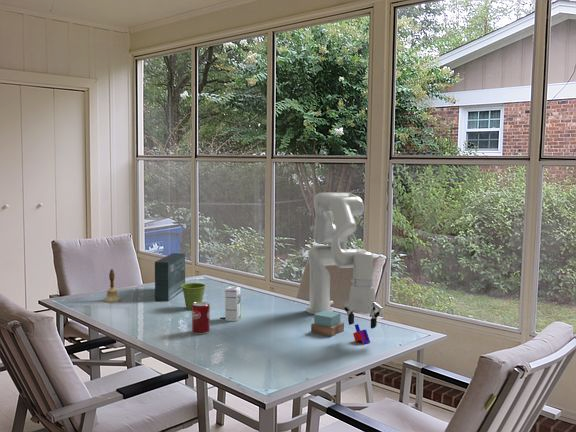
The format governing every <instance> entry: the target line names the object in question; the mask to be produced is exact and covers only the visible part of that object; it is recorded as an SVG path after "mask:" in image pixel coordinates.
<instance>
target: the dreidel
mask: <svg viewBox="0 0 576 432" xmlns="http://www.w3.org/2000/svg"><path fill="white" fill-rule="evenodd" d="M354 327H355V331H356V332H353V333H352V334H353V339H354V341H355V343H356V342H360V341H361V343H362V345H364V344H365V345H366V344H369V343H371V340H370V337H369V335H368V330H367V329H362V330H361V328H360V326H359V324H354Z"/></svg>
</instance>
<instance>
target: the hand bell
mask: <svg viewBox="0 0 576 432" xmlns="http://www.w3.org/2000/svg"><path fill="white" fill-rule="evenodd" d="M108 273H109V276H108V277H109V282H110V285H109V286H110V288H109V289H107V292H106V296H105V298H104V299H103V302H105V303H117V302H120V301H122V300H121V298H120V297H119V296H118V291H117V289H116V288H115V285H114V284H115V283H114V282H115V277H116V275H115V272H114V269H110V271H109V272H108Z"/></svg>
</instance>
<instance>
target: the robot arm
mask: <svg viewBox="0 0 576 432" xmlns="http://www.w3.org/2000/svg"><path fill="white" fill-rule="evenodd" d="M313 207H314V213H315V215H314V217H315V218H314V227H313V229H314V230H313V240H314V241H313V242H315V244H317V245H314V246H312V247H310V248H309V250H308V253H307V257H308V263H309V265H308V266H309V307H307V308H306V310H305V311H306V313H308V314H310V315H315V314H317V313H319V312H322V311H330V312H334V309H333V308H332V307H331V305H333V304H334V301H333V300H331V295H330V294H331V293H330V292H331V274H330V272H329V270H328V269H327V268H326V267H327V266H328V267H329V266H336V267H338V268H340V269H351V268H352V269H353V271H352V276H353V277H352V278H350V280H349V281H350V283H352V285H350V290H349V295H348V296H349V297H348V299H347V300H346V301H343V302H342V306H343V308H344V310H345V312H346V314H347V315H348V317H347V320H348V325H349V326H351V325H353V324H355V313H359V314H360V313H362V314H367V315H368V314H369V315H370V317H371V318H370V329H374V328H376V327H377V324H378V323H377V321H378V320H377V319H378V317H379V316H381V314H382V312H383V310H384V307H383V306H382V305H380V304H378V303H377V302H376V301H377V300H376V292H375V287H374V286H373V272H374V271H373V270H374V269H373V265H374V264H373V263H374V262H373V258H374V257H373V256H374V255H373V254H372V252H370V251H368V250H366V249H364V248H347V245H348V238H349V237H348V236H350V235H352V234H354V233H355V232H356V230H357V227H358V226H357V222H356V220H355V217H360V216H362V215H363V213H365V205H364V201H363V199H362V198H361V197H360V196H358V195H356V194H355V193H354V194H353V193H351V192H318V193H317V194H315V196H314V198H313ZM376 309H377V312H376ZM354 312H355V313H354Z"/></svg>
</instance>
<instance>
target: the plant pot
mask: <svg viewBox="0 0 576 432" xmlns="http://www.w3.org/2000/svg"><path fill="white" fill-rule="evenodd" d="M206 286H207V285H206V284H205V283H201V282H189V283H185V284H183V285H181V287H182V289H183V291H182V292H183V298H184V303H185V309H186V310H189V311H192V304H193V303H196V302H203V299H204V292H205V289H206Z"/></svg>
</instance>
